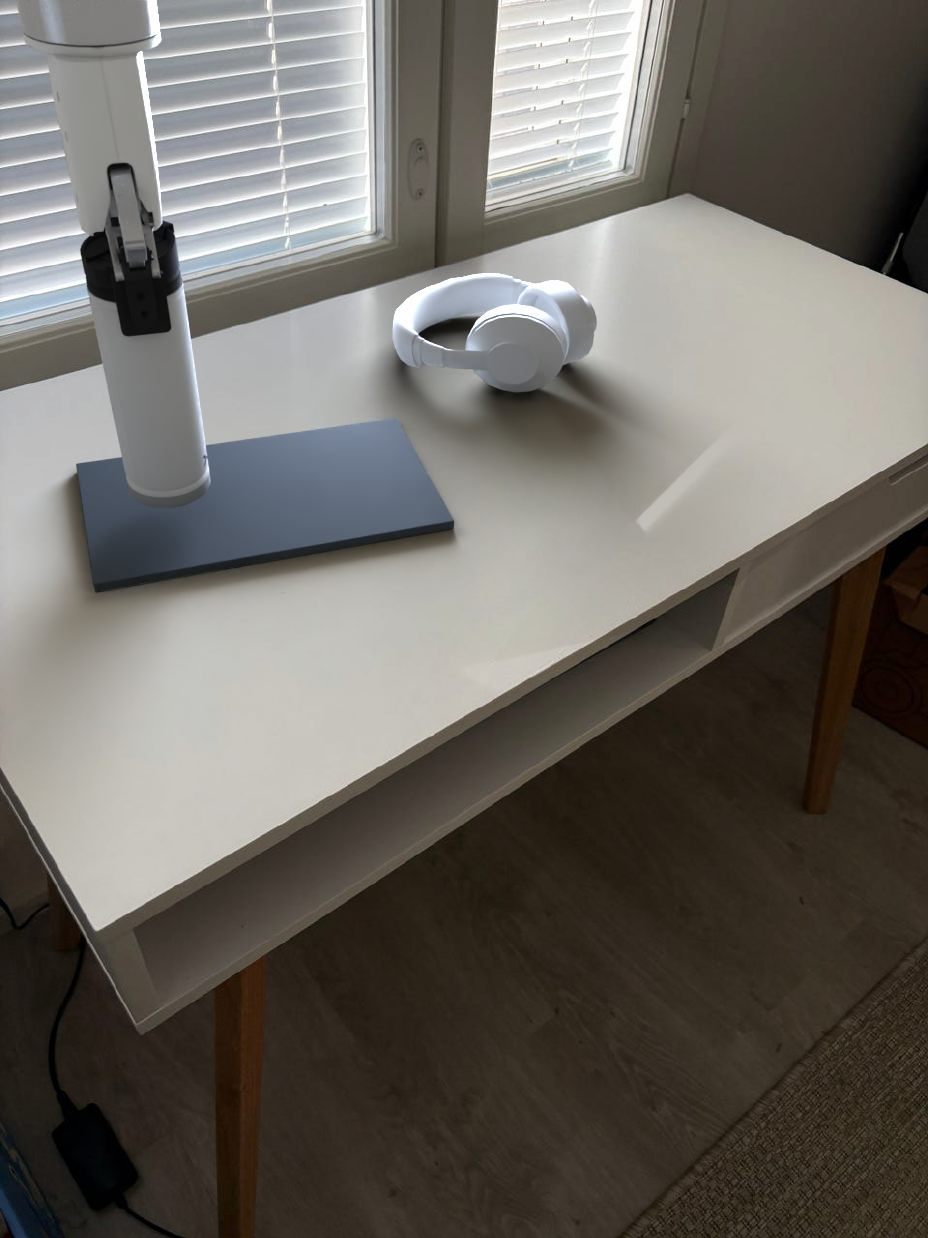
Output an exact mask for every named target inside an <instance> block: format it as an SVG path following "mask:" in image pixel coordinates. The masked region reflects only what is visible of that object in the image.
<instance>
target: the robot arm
mask: <svg viewBox="0 0 928 1238" xmlns="http://www.w3.org/2000/svg"><path fill="white" fill-rule="evenodd" d="M15 3H16V6H17V11H18V12H17V13H18V16H19V21H20V25H21V29H22V36H23V40H24V43H25V44H26V46H27V47H28V48H31V49H33V50H34V51H38V52H41V53H44V54H46V59H47V67H48V73H49V80H50V86H51V92H52V97H53V103H54V109H55V113H56V118H57V123H58V127H59V131H60V138H61V142H62V146H63V147H62V148H63V151H64V157H65V161H66V165H67V171H68V176H69V181H70V186H71V191H72V195H73V198H74V203H75V207H76V211H77V216H78V221H79V225H80V229H81V231H82V232H83V233H85V234H86V235H87V236H88V237H89V236H94V234H93V233H94V232H103V231H104V228H105V227H106V235H107V238H108V243H109V248H110V253H111V258H112V263H113V268H114V273H115V275H112V276H111V280H112V285H113V290H114V296H115V301H116V306H117V311H118V317H119V322H120V327H121V332H122V334H123V335H124V336H127V337H130V336H139V335H148V334H157V333H166V332H169V331H170V330H171V320H170V314H169V307H168V301H167V294H166V288H165V281H164V275H163V271H160V269H159V263H158V258H157V252H156V247H155V241H154V236H153V229H154V231H156V230H157V229H158V228H159V227H160V226H161V224H162V220H163V212H162V211H163V209H162V199H161V198H162V197H161V188H160V186H161V185H160V177H159V166H158V159H157V150H156V149H157V148H156V143H155V142H156V141H155V134H154V125H153V119H152V112H151V105H150V98H149V89H148V83H147V77H146V68H145V63H144V57H143V56H144V55H143V53H144V52H146V51H148V50H149V51H150V50H151V49H153V48H155V47H158V45H159V44H161V42H162V36H161V29H160V22H159V14H158V6H157V0H15ZM141 221H144V224H143V225H142V223H141ZM118 223H120V226H118V227H112V225H114V224H118ZM152 226H153V227H152ZM117 237H122V239H123V245H124V247H120V250H119V248H118V243H117ZM119 251H120V253H119Z"/></svg>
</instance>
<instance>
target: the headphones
mask: <svg viewBox="0 0 928 1238" xmlns="http://www.w3.org/2000/svg"><path fill="white" fill-rule="evenodd" d="M394 312H395V313H394V315H393V322H392V342H393V346H394V348H395V351H396V353H397V356H398V357H399V359H400V360H401V361H402V362H403V363H404V364H405V365H407V366H408V367H413V368H414V367H415V368H421V367H422V365H423V366H426V365H429V366H434V367H439V368H448V369H455V370H457V369H458V370H472V371H473V372H474V373H475V375H476V376H477V377H478V378H480V379H481V380H482V381H484V383H486V384H487V385H489V386H491V387H494V388H495V389H498V390H500V391H505V392H511V393H527V392H533V391H535V390H538V389H541V388H544V387H545V386H547V385H548V384H549V383H551V382H552V381H554V380H556V378H557V376H558V375H559V374H560V372H561V370H562V368H563V366H564V365H567V364H570V363H573V362H577V361H578V360H581V359H583V358H585V357H586V356H587V355H588V354H589V353H590V351H591V350H592V347H593V346H594V345H593V344H594V339H595V332H596V329H597V326H598V322H597V321H598V319H597V315H596V311H595V309H594V306H593V305H592V303H591V302H590V301H589V300H588V299H587V298H586V297H585V296H584V295H581V294H580V293H579V291H577V289H576V288H575V287H573V286H572V285H570V284H569V283H568V282H565V281H561V280H547V281H543V282H541V283H531V282H527V281H523V280H521V279H517V278H514V276H511V275H506V274H501V273H489V272H488V273H487V272H486V273H477V274H471V275H467V276H463V277H453V278H449V279H447V280H444V281H442V282H440V283H439V282H438V283H436V284H433V285H430V286H427V287H426V288H423V289H422V290H419V291H417V292H416V293H414V294H412V295H411V296H409V297H408V298H407V299H405V301H404V302H403V303H402V304H401V305H400V306H399V307H398V308H396V310H395V311H394ZM477 314H483V315H482V316H480V317H479V318H478V319H477V320H476V321H475V323H474V325H473V327H472V328H471V330H470V332H469V334H468V335H467V338H466V341H465V342H466V343H465V349H449V348H445V347H444V346H441V345H438V344H435V343H433V342H430V341H428V340H426V339H425V338H423V337H421V335H420V333H421V332H422V331H424V330H425V329H427V328H429V327H431V326H433V325H436V324H439V323H441V322H444V321H446V320H451V319H456V318H460V317H463V316H467V315H477Z"/></svg>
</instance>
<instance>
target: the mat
mask: <svg viewBox="0 0 928 1238" xmlns="http://www.w3.org/2000/svg"><path fill="white" fill-rule="evenodd" d="M206 451H207V459H208V467H209V473H210V480H211V481H210V486H209V488H208V490H207V491H206V493H205V494H204V495H203V496H202V497H200V498H199V499H197V500H196V501H194V502H192V503H189V504H186V505H183V506H179V507H173V508H157V507H151V506H147V505H144V504H142V503H140V502H138V501H137V500H135V499H134V498H133V497H132V496H131V494H130V492H129V488H128V484H127V479H126V473H125V469H124V464H123V460H122V456H120V457H112V458H106V459H98V460H92V461H85V462H77V463H76V464H75V467H76V474H77V481H78V488H79V495H80V503H81V509H82V516H83V523H84V531H85V538H86V545H87V551H88V559H89V565H90V574H91V581H92V586H93V590H94V592H95V593H98V592H99V593H100V592H103V591H109V590H115V589H120V588H121V589H122V588H126V587H132V586H138V585H143V584H144V585H145V584H148V583H155V582H161V581H166V580H171V579H176V578H182V577H188V576H192V575H193V576H194V575H199V574H205V573H211V572H216V571H221V570H227V569H232V568H240V567H245V566H250V565H256V564H261V563H266V562H272V561H279V560H284V559H289V558H295V557H301V556H307V555H312V554H317V553H323V552H328V551H329V552H330V551H335V550H339V549H340V550H341V549H345V548H346V549H347V548H351V547H357V546H362V545H368V544H374V543H379V542H380V543H381V542H385V541H391V540H395V539H396V540H397V539H401V538H407V537H414V536H418V535H424V534H431V533H436V532H441V531H442V532H443V531H446V530H452V529H454V528H455V520H454V517H453V516H452V514H451V512H450V511H449V509H448V507H447V505H446V504H445V502H444V500H443V498H442V497H441V494H440V492H439V491H438V489H437V488H436V487H437V486H435V484H434V482H433V480H432V478H431V476H430V475H429V473H428V472H427V470H426V468H425V465H424V464H423V462H422V460H421V458H420V457H419V455H418V454H417V452H416V450H415V448H414V447H413V445H412V443H411V440H410V439H409V437H408V436H407V433H406V432H405V430H404V428H403V426H402V425H401V423H400V421H399V419H398V417H394V418H385V419H379V420H378V419H377V420H372V421H366V422H365V421H364V422H356V423H351V424H350V423H349V424H344V425H337V426H330V427H323V428H315V429H309V430H301V431H295V432H288V433H281V434H280V433H279V434H275V435H267V436H260V437H253V438H246V439H238V440H231V441H224V442H218V443H212V444H211V443H210V444H206Z"/></svg>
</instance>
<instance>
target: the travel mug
mask: <svg viewBox="0 0 928 1238" xmlns="http://www.w3.org/2000/svg"><path fill="white" fill-rule="evenodd" d="M141 223H142V225H143V224H144V221H141ZM118 226H120V223H118V224H114V225H112V227H118ZM152 227H153V226H152ZM93 234H94V236H89V235H88V236H87V237H86V238H85V239H84V241H83V242H82V243H81V245H80V249H79V253H80V257H81V258H80V259H81V263H82V267H83V268H82V269H83V272H84V275H85V282H86V291H87V292H86V293H87V295H88V302H89V305H90V311H91V315H92V320H93V324H94V331H95V334H96V339H97V344H98V349H99V353H100V358H101V363H102V368H103V372H104V378H105V382H106V387H107V392H108V395H109V402H110V408H111V411H112V416H113V422H114V426H115V431H116V435H117V436H116V437H117V439H118V444H119V451H120V454H121V457H122V460H123V464H124V469H125V473H126V479H127V484H128V488H129V492H130V494H131V496H132V497H133V498H134V499H135V500H137V501H138V502H140V503H142V504H144V505H147V506H151V507H157V508H173V507H179V506H183V505H186V504H189V503H192V502H194V501H196V500H197V499H199V498H200V497H202V496H203V495H204V494H205V493H206V491H207V490H208V488H209V486H210V481H211V480H210V473H209V467H208V459H207V451H206V445H207V443H206V438H205V431H204V430H205V429H204V423H203V417H202V416H203V415H202V409H201V404H200V403H201V401H200V396H199V395H200V394H199V386H198V381H197V380H198V379H197V374H196V367H195V360H194V352H193V346H192V338H191V331H190V324H189V317H188V310H187V302H186V295H185V290H184V282H183V278H182V273H181V270H180V266H181V265H180V260H179V259H180V258H179V251H178V244H177V239H176V234H175V227H174V224H173V223H172V222H170V221H166V220H163V219H162V224H161V226H160V227H159V228H158V229H157V230H156V231H154V229H153V236H154V241H155V247H156V252H157V258H158V263H159V269H160V271H163V275H164V281H165V288H166V294H167V301H168V307H169V314H170V320H171V330H170V331H169V332H166V333H157V334H148V335H139V336H130V337H127V336H124V335H123V334H122V332H121V327H120V322H119V317H118V311H117V306H116V301H115V296H114V290H113V285H112V280H111V276H112V275H115V273H114V268H113V263H112V258H111V253H110V248H109V243H108V238H107V235H106V227H105V228H104V231H103V232H93ZM117 243H118V248H119V250H120V247H124V245H123V239H122V237H117ZM119 253H120V251H119Z"/></svg>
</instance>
